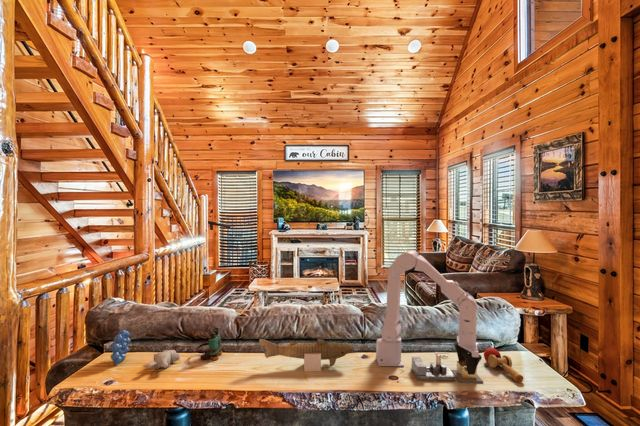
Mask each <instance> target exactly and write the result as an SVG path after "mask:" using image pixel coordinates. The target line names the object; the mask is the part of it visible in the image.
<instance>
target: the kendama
mask: <svg viewBox="0 0 640 426" xmlns="http://www.w3.org/2000/svg"><path fill="white" fill-rule="evenodd" d="M483 358H484V360H485V362H486V363H487V364H488V365H489V367H491V368H494V369H495V368H496V367H497V366H498V367H500V366H501V368H502V369H503V370H504V371H505V372H506V373H507V374H508V375H509V376H510V377H511V378H512V379H513V380H514V381H515V383H517V384H520V383H522V382H523V381H524V376H523V375H522V374H520V373H519V372H518V371H517V370H515V369H514V368H512V366H513V362H512V359H511V357H510V356H509V355H507V354H505V355H501V353H500V351H499V350H497V349H496V348H494V347H489V348H486V349H485V350H484V352H483Z"/></svg>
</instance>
